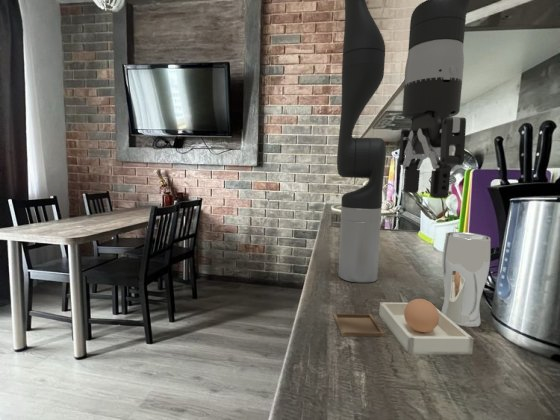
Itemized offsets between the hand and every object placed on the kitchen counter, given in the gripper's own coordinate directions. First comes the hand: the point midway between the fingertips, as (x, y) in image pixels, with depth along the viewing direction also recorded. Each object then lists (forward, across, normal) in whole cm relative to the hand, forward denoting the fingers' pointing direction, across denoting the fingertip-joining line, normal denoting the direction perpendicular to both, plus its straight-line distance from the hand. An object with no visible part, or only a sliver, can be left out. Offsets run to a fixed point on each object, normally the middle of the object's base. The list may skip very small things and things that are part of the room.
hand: (423, 194), depth 47 cm
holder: (+22, -2, -9) cm, 24 cm away
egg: (+22, 0, +1) cm, 22 cm away
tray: (+22, 0, +1) cm, 22 cm away
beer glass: (+22, -4, +10) cm, 25 cm away
